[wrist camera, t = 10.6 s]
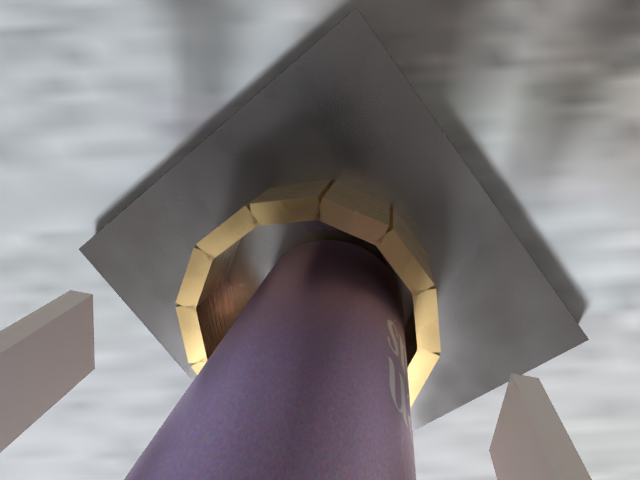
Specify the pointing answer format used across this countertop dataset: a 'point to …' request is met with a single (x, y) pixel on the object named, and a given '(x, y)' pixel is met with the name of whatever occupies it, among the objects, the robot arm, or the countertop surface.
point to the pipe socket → (339, 226)
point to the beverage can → (299, 381)
